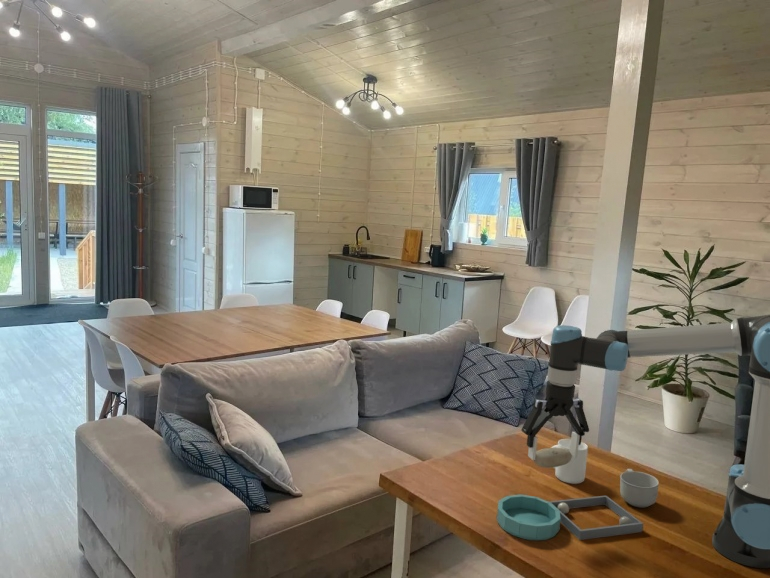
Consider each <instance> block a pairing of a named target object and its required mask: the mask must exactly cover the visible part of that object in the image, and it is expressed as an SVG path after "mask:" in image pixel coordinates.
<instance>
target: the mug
mask: <svg viewBox="0 0 770 578" xmlns="http://www.w3.org/2000/svg"><path fill="white" fill-rule="evenodd" d="M570 444H571V438H562V439H558V441H557V444H555V445H553V446H551V447H550V448H563V449H566V450H568V451H569V452H570ZM588 451H589V445H588V444H587V443H585V441H581V444H580V445H579V446H578V454H577V458H574V457H573V456H572V458H571V460H570V462H569V463H567V464H565V465H562V466H558V467H552V468H553V469H554V470H555V473H554V474H555V475H554V476H555V477H556V478H557V479H558V480H559V481H561V482H564V483H566V484H569V485H571V484H572V485H577V484H578V485H579V484H581V483H583V482H584V481H585V480H586V479H585V477H586V469H587V463H588V462H587V460H588Z"/></svg>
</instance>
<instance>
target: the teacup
mask: <svg viewBox="0 0 770 578" xmlns="http://www.w3.org/2000/svg"><path fill="white" fill-rule="evenodd" d="M619 478H620V481H619V492H620V496H621V498H623V500H624V501H626V503H627V504H629V506H633V507H635V508H641V509H642V508H648V507H649V506H652V505H654V504H655V503H656V502H657V499H658V493H659V492H658V491H659V485H660V482H659V480H658V478H656V477H655V476H653V475H651V474H649V473H646V472H642V471H636V470H635V471H634V470H633V469H632V468H627V469H626V470H625V471H624V472H622V473H621V474H620V477H619Z"/></svg>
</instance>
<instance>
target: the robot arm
mask: <svg viewBox="0 0 770 578" xmlns="http://www.w3.org/2000/svg"><path fill="white" fill-rule="evenodd" d="M549 349H550V350H549V358H548V359H549V360H548V370H547V378H546V379H547V381H546V387H545V399H544V400H541V399H539V398H535V399H534V400H533V401H534V402H533V406H532V408H531V410H530V412H529V414H528V416H527V418H526V420H525V422H524V424H523V425H522V428H521V432H523V434H525V435H526V436H527V439H526V446H527V447H528V453H527V457H529V459H531V460H532V461H534V460H535V457H536V451H537V448H538V447H537V446H538V438H539V437H538V436H537V434H538V433H539V432H540V431H541V429H543V427H544V426H545V425H546V423H547V422H548V421H549V420H550V419H552V418H553V417H560V416H561V417H565V418H566V419H567V420H568V423H569V424H570V425H571V427H572V428H573V431H571V437H570V439H571V444H570V453H571V454H572V456H573V457H574V458H577V454H578V446H579V445H580V444H581V442H582V437H584V436H585V435H586V433H589V432H590V428H589V424H588V421H587V417H586V415H585V411H584V401H583V400H581V398H578V397H575V392H576V385H575V384H576V383H577V375H578V374H577V373H578V365H582V366H587V367H592V368H598V369H605V370H608V371H614V372H615V371H616V372H623V371H625V370H626V367H627V364H628V358H629V359H630V358H641V357H643V358H645V357H663V356H664V357H665V356H666V357H667V356H679V355H680V356H684V355H685V356H686V355H700V354H701V355H702V354H703V355H704V354H721V353H722V354H723V353H725V354H726V353H736V354H737V355H738V356H739V357H741V356H750V360H749V366H748V374H749V375H750V376H751V377H752V379H754V386H753V394H752V403H751V411H750V417H749V424H748V425H749V426H748V433H747V434H748V435H747V442H746V450H745V457H744V464H734V465H732V466H731V467H730V469H729V471H728V472H729V473H728V474H727V475H728V481H727V488H726V495H725V500H724V501H725V503H724V511H723V516H722V518H721V520H720V522H719V523H718V525H717V527H716V528H715V530H714V532H713V535H712V538H711V539H712V540H711V543H712V544H711V545H712V547H713V548H714V549H715V551H717V552H718V553H719V554H720V555H722V556H723V557H725V558H727V559H728V560H730V561H732V562H735V563H737V564H741V565H743V566H747V567H750V568H756V569H770V314H763V315H757V316H748V317H742V318H741V317H740V318H739V317H737V318H736V317H735V318H734V319H733V320H732V321H731V322H727V323H726V322H724V323H713V324H712V323H710V324H697V325H685V326H671V327H670V326H669V327H658V328H657V327H656V328H645V329H644V328H643V329H628V330H619V331H618V330H616V329H615V330H614V329H607V330H603V332H600V333H599V334H598V336H597V337H596V338H594V337H587V336H584V335H583V333H582V329H581V328H579V327H577V326H572V325H564V324H563V325H560V324H559V325H556V326H555V327H554V328H553V329H552V335H551V341H550V348H549ZM572 407H574V410H575V411H574V412H575V415H576V417H577V419H576V418H575V416H574V414H573V411H572V410H571V409H572ZM577 420H578V421H577Z"/></svg>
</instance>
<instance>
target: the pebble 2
mask: <svg viewBox="0 0 770 578" xmlns="http://www.w3.org/2000/svg"><path fill="white" fill-rule="evenodd" d="M618 521H619V522H618V523H619V525H623V524H631V520H630V519H629V518H628V517H626V516H623V517H620V518H619V520H618Z"/></svg>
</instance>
